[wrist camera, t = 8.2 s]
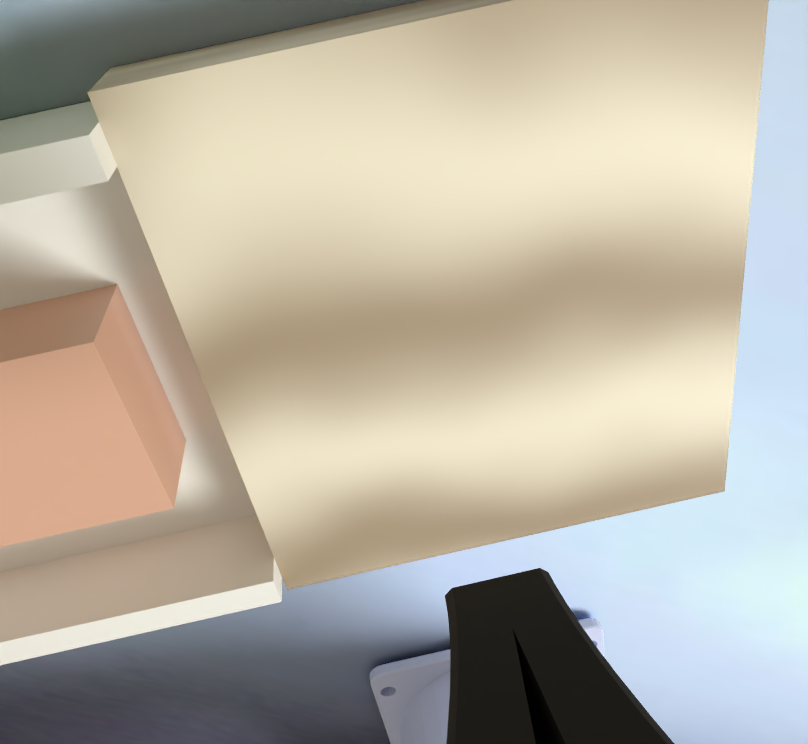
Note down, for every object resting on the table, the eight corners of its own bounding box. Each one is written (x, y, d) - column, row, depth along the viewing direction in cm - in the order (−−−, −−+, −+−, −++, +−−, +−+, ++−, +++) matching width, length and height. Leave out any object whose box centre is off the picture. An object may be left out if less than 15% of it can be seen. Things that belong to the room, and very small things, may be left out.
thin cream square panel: (690, 445, 22) (724, 490, 20) (286, 535, 22) (286, 589, 20) (717, -64, 15) (773, -57, 13) (110, 68, 14) (86, 92, 13)
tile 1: (186, 439, 19) (174, 508, 17) (11, 478, 19) (-23, 551, 17) (117, 284, 16) (92, 341, 14) (-85, 328, 16) (-138, 392, 14)
